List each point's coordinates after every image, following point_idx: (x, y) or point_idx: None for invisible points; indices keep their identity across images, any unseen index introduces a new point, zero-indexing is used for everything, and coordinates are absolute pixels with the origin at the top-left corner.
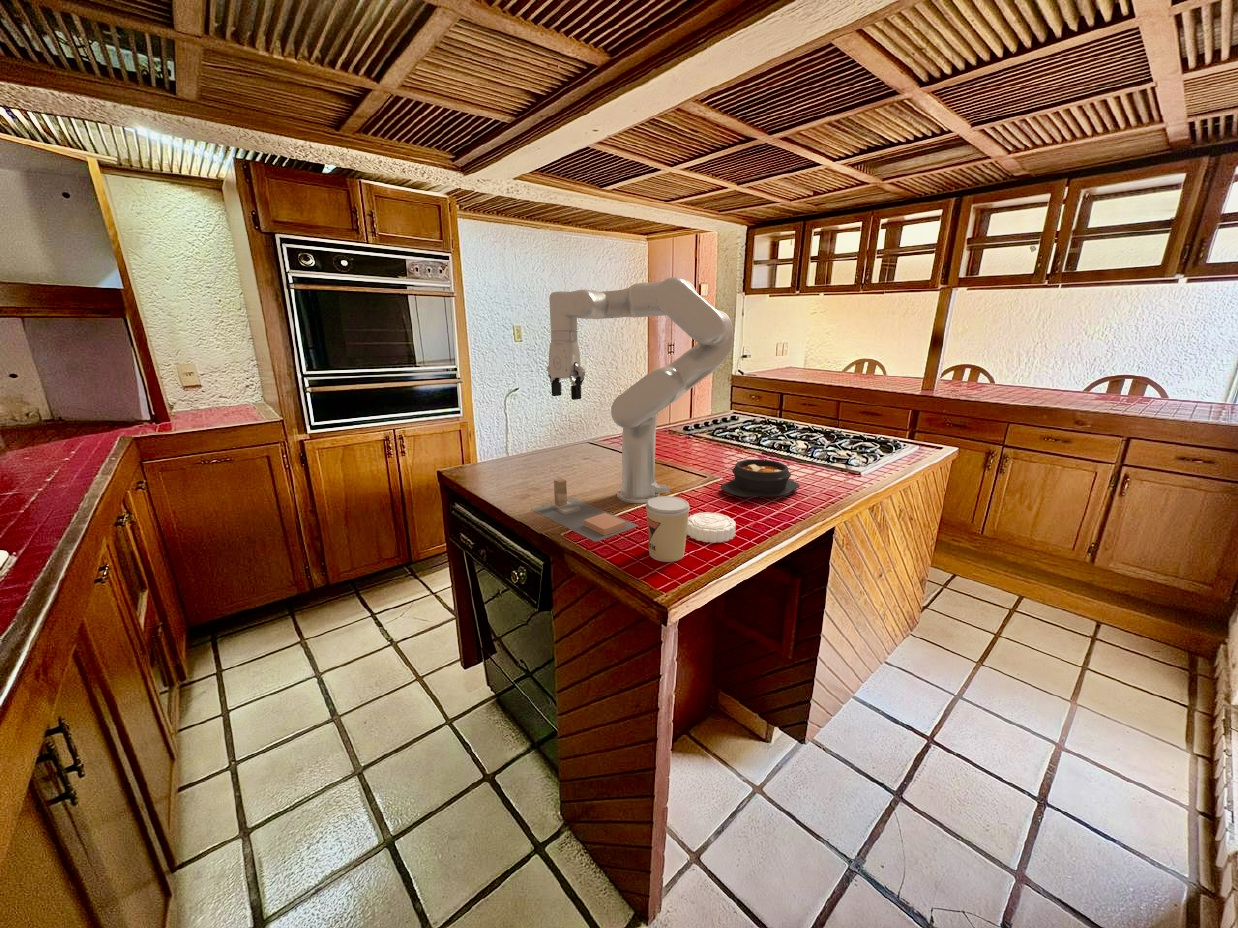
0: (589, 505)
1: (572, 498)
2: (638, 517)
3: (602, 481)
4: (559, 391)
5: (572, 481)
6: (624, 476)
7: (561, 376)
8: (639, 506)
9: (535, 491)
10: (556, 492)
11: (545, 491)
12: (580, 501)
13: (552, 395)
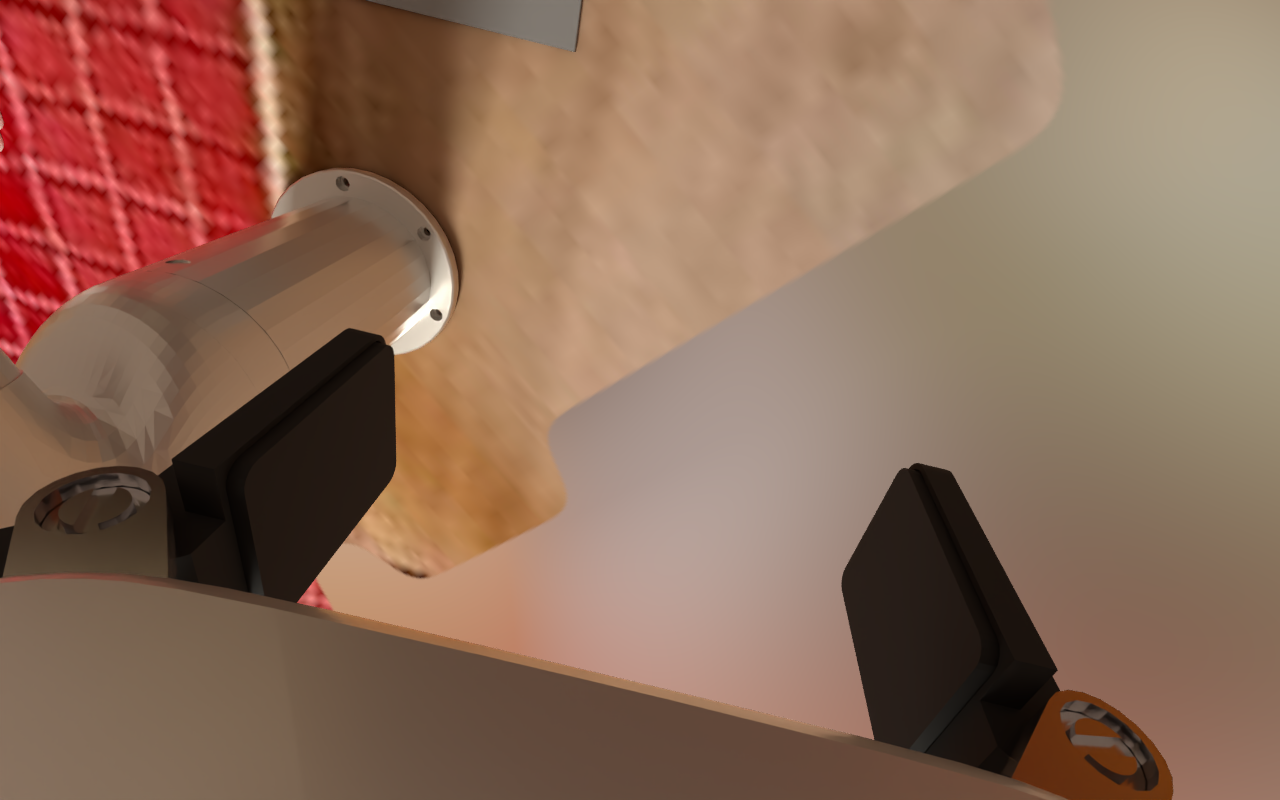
0: (422, 7)
1: (562, 39)
2: (172, 36)
3: (628, 349)
4: (865, 603)
5: (752, 275)
6: (319, 228)
7: (320, 653)
8: (277, 163)
9: (832, 12)
10: None
11: (778, 53)
12: (498, 28)
13: (929, 466)
